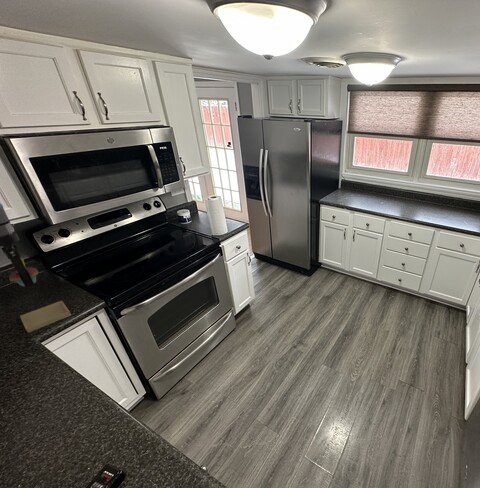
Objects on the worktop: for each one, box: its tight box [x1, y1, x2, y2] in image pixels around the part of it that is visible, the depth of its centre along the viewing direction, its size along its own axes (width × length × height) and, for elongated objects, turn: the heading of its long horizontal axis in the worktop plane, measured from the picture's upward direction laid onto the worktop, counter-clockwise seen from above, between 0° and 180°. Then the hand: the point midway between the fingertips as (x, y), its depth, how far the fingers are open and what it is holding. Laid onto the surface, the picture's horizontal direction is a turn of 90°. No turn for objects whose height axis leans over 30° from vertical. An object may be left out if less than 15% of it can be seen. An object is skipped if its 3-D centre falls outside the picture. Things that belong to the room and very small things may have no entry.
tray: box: [19, 300, 72, 334], centre depth 119 cm, size 13×14×2 cm
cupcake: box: [8, 258, 39, 287], centre depth 112 cm, size 9×8×12 cm
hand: (27, 281), depth 114 cm, fingers closed on cupcake, 8 cm apart
